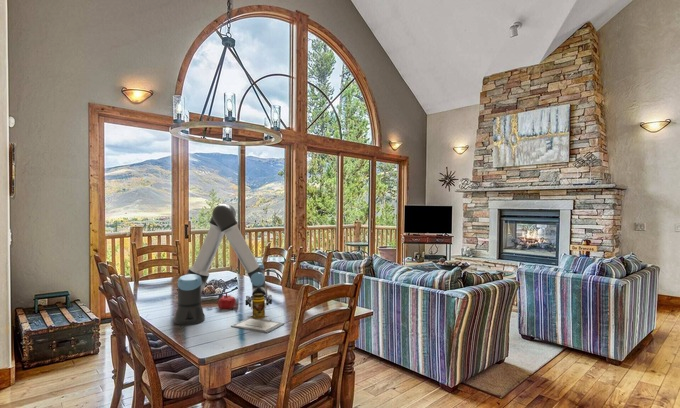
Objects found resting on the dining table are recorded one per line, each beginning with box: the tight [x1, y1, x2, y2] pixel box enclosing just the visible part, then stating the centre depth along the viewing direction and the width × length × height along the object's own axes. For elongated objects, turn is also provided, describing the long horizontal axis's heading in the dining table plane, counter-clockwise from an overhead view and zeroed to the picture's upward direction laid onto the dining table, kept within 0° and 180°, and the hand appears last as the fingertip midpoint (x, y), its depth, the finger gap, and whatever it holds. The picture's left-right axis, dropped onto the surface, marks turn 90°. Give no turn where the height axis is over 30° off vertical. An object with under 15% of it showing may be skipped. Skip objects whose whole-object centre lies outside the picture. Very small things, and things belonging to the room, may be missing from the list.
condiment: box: [247, 293, 269, 320], centre depth 198 cm, size 7×8×12 cm
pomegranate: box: [217, 292, 237, 310], centre depth 228 cm, size 10×10×9 cm
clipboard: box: [230, 317, 285, 334], centre depth 198 cm, size 22×15×2 cm
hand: (258, 306), depth 193 cm, fingers closed on condiment, 6 cm apart
